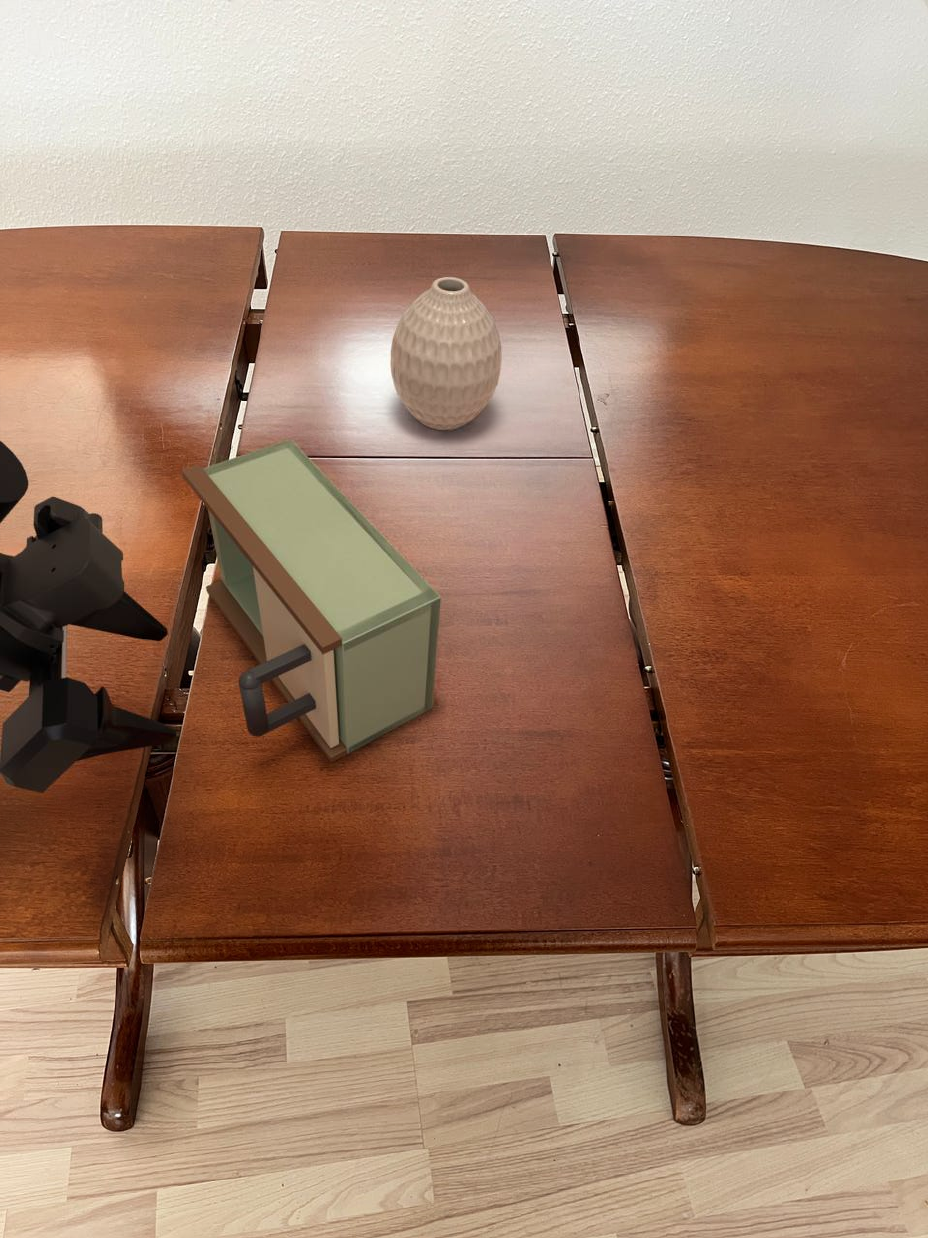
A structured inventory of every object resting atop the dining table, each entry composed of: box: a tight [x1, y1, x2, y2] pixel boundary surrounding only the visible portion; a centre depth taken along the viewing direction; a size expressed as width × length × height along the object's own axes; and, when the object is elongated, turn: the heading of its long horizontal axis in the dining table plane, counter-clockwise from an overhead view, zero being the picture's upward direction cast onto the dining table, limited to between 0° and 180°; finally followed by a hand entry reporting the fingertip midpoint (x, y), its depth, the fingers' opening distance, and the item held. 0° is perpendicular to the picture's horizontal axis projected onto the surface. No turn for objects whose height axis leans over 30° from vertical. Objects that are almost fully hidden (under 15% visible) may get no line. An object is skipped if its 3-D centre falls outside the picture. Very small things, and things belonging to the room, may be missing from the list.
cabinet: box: [180, 438, 442, 764], centre depth 73 cm, size 10×23×15 cm, turn 36°
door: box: [238, 567, 339, 748], centre depth 67 cm, size 6×11×12 cm, turn 36°
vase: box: [390, 276, 503, 431], centre depth 99 cm, size 13×13×17 cm
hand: (168, 684), depth 60 cm, fingers open, 9 cm apart
